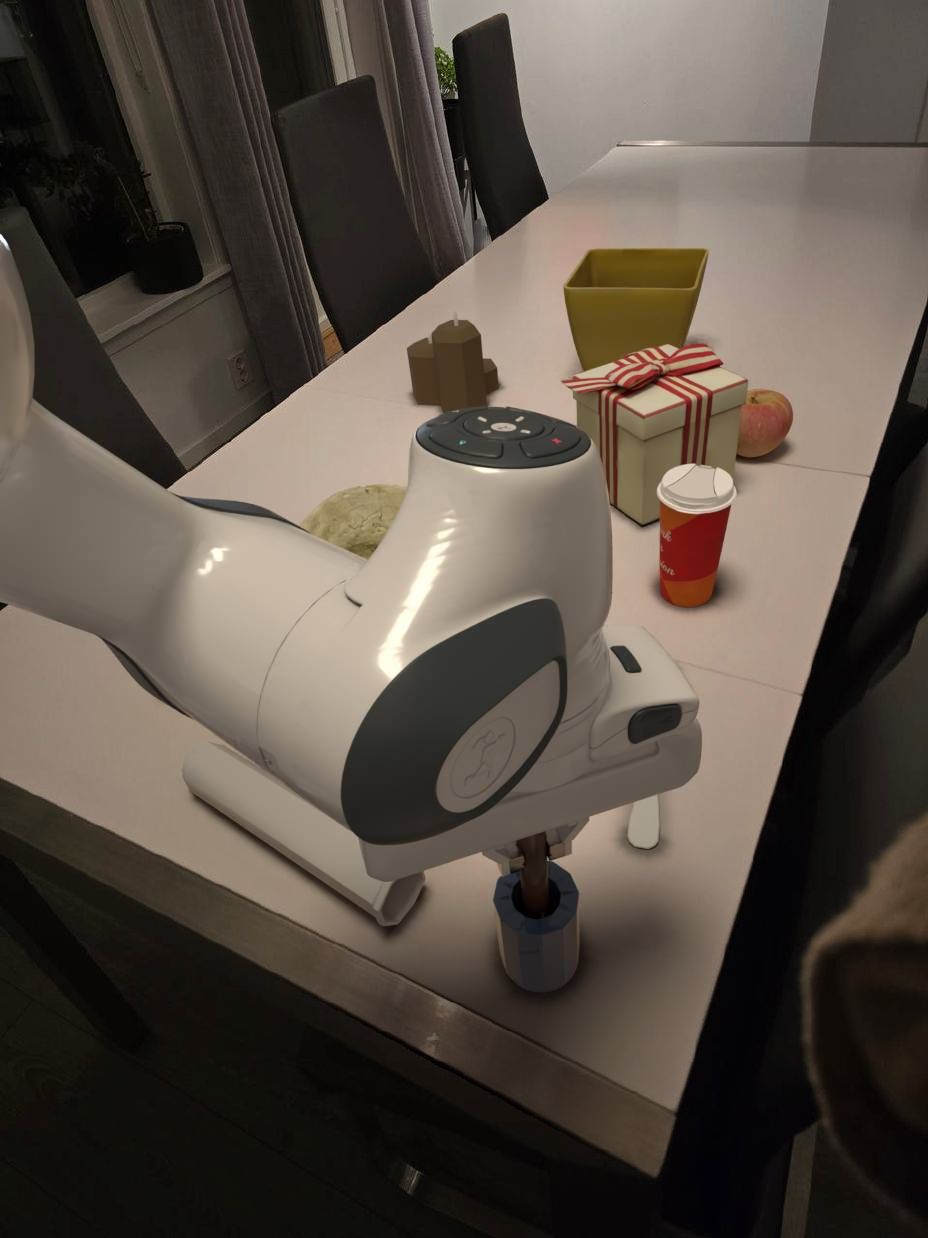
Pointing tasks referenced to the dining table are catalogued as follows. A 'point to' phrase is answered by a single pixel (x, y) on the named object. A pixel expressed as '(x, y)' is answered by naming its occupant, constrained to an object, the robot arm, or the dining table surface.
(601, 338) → the flower pot
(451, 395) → the candle
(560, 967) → the crock
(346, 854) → the tube
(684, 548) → the paper cup
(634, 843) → the fork
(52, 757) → the dining table surface
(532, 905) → the stirring stick
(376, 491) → the bowl
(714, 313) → the dining table surface
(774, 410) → the apple
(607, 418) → the gift box
